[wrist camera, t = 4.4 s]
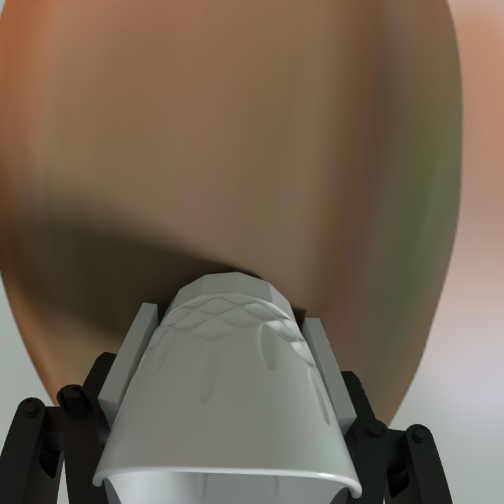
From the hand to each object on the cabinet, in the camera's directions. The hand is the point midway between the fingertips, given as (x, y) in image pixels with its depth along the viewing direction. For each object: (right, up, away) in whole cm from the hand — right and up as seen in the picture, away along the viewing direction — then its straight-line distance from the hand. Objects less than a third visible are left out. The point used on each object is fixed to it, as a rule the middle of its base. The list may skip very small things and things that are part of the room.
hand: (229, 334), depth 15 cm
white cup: (0, 0, 0) cm, 0 cm away
